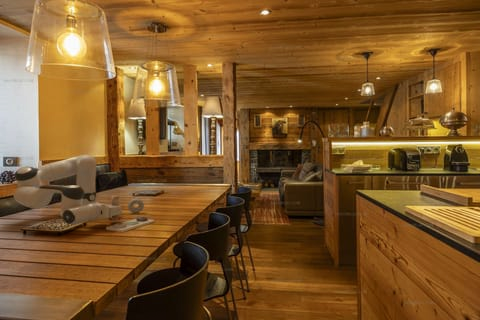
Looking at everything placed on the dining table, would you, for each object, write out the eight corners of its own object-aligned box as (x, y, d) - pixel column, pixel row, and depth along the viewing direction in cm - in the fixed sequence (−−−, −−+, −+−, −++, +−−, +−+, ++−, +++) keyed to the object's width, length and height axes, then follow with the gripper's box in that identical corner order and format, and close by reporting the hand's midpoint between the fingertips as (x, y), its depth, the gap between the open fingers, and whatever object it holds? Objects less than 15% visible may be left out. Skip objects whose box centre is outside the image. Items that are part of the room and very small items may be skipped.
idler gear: (106, 220, 168) (105, 196, 168) (116, 217, 175) (115, 195, 174) (114, 221, 165) (114, 197, 165) (124, 218, 172) (124, 196, 171)
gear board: (106, 229, 156) (106, 222, 156) (139, 219, 178) (139, 213, 178) (122, 232, 151) (122, 225, 151) (154, 222, 173) (154, 215, 173)
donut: (144, 212, 200) (143, 197, 199) (143, 213, 196) (143, 198, 196) (128, 212, 197) (128, 198, 197) (127, 214, 194) (127, 199, 193)
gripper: (83, 214, 163) (104, 210, 175) (108, 218, 154) (129, 213, 166) (82, 203, 163) (104, 199, 175) (108, 206, 154) (129, 202, 166)
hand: (116, 206), depth 171 cm, fingers closed on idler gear, 4 cm apart
